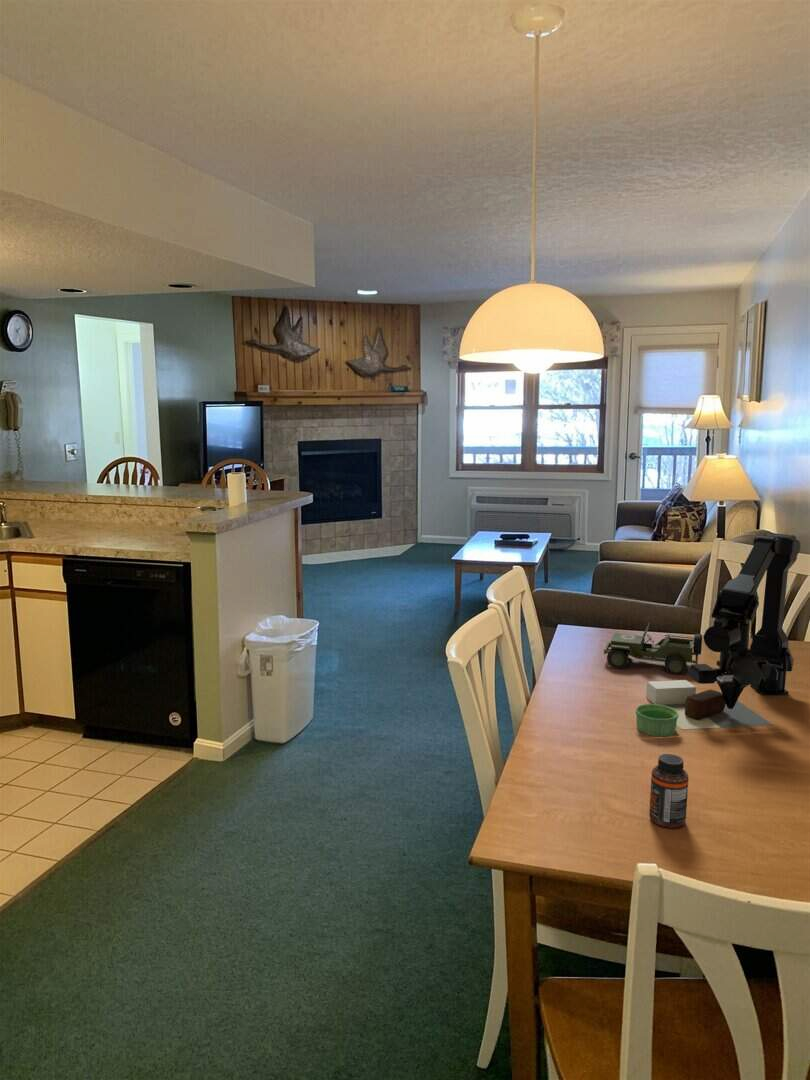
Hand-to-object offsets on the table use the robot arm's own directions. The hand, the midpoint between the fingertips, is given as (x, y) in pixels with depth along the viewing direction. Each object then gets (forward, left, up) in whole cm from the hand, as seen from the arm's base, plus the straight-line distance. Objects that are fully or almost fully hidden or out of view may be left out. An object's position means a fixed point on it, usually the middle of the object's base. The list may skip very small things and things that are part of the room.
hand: (730, 708), depth 178 cm
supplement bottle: (+35, +42, -2) cm, 55 cm away
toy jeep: (+2, -37, -2) cm, 37 cm away
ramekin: (+20, +5, -2) cm, 21 cm away
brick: (+5, -2, -2) cm, 6 cm away
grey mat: (+3, -4, -2) cm, 6 cm away
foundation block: (+9, -11, -2) cm, 14 cm away
